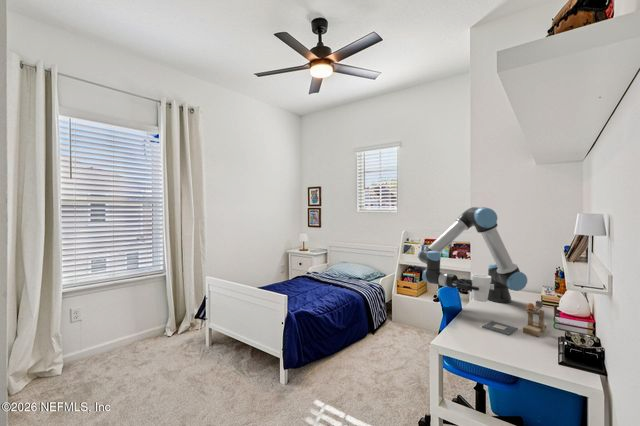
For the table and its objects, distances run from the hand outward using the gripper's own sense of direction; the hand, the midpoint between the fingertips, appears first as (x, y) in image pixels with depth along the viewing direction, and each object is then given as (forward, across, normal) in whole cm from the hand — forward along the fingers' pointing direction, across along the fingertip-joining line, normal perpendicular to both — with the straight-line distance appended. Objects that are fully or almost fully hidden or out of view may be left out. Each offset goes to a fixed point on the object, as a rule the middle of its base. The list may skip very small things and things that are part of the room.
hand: (489, 288), depth 162 cm
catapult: (+19, -2, -17) cm, 26 cm away
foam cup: (-4, 0, -7) cm, 8 cm away
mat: (+7, +6, -17) cm, 20 cm away
